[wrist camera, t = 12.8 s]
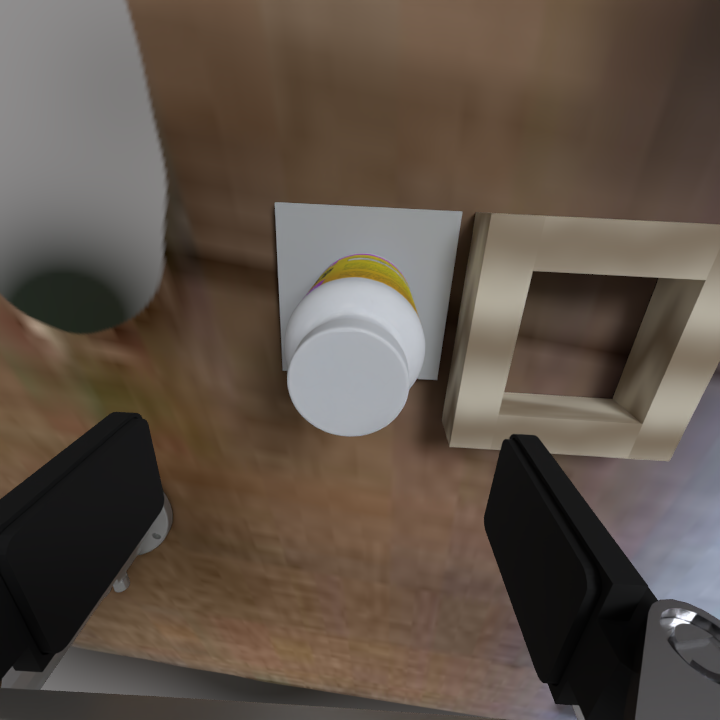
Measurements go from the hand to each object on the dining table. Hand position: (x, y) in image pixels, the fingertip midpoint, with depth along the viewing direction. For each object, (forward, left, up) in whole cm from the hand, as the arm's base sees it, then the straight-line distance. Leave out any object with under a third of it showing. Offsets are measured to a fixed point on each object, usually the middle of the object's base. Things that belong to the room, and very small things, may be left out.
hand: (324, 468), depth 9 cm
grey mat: (0, 0, -18) cm, 18 cm away
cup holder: (-2, -15, -18) cm, 24 cm away
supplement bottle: (0, 0, -17) cm, 17 cm away
